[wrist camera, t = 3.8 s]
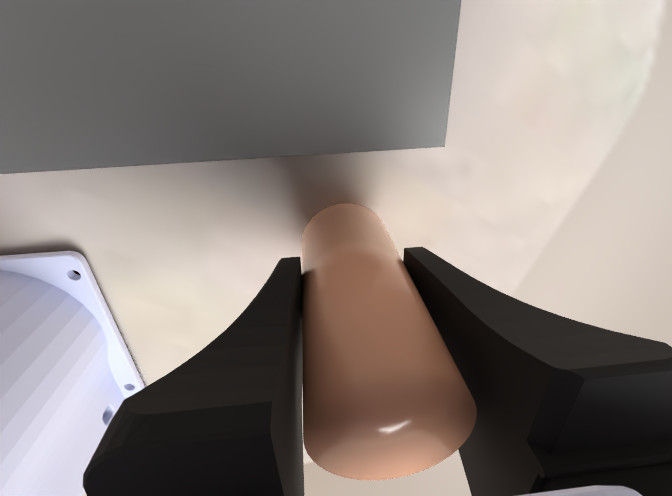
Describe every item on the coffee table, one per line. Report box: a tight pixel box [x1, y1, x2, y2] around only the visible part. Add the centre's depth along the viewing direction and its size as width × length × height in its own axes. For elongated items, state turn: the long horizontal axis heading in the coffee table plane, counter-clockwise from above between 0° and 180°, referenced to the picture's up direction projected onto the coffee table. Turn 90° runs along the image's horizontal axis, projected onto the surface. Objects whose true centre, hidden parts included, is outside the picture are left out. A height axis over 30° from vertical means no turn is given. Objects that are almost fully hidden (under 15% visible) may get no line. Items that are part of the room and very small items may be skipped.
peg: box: [301, 203, 477, 480], centre depth 10 cm, size 4×4×8 cm
